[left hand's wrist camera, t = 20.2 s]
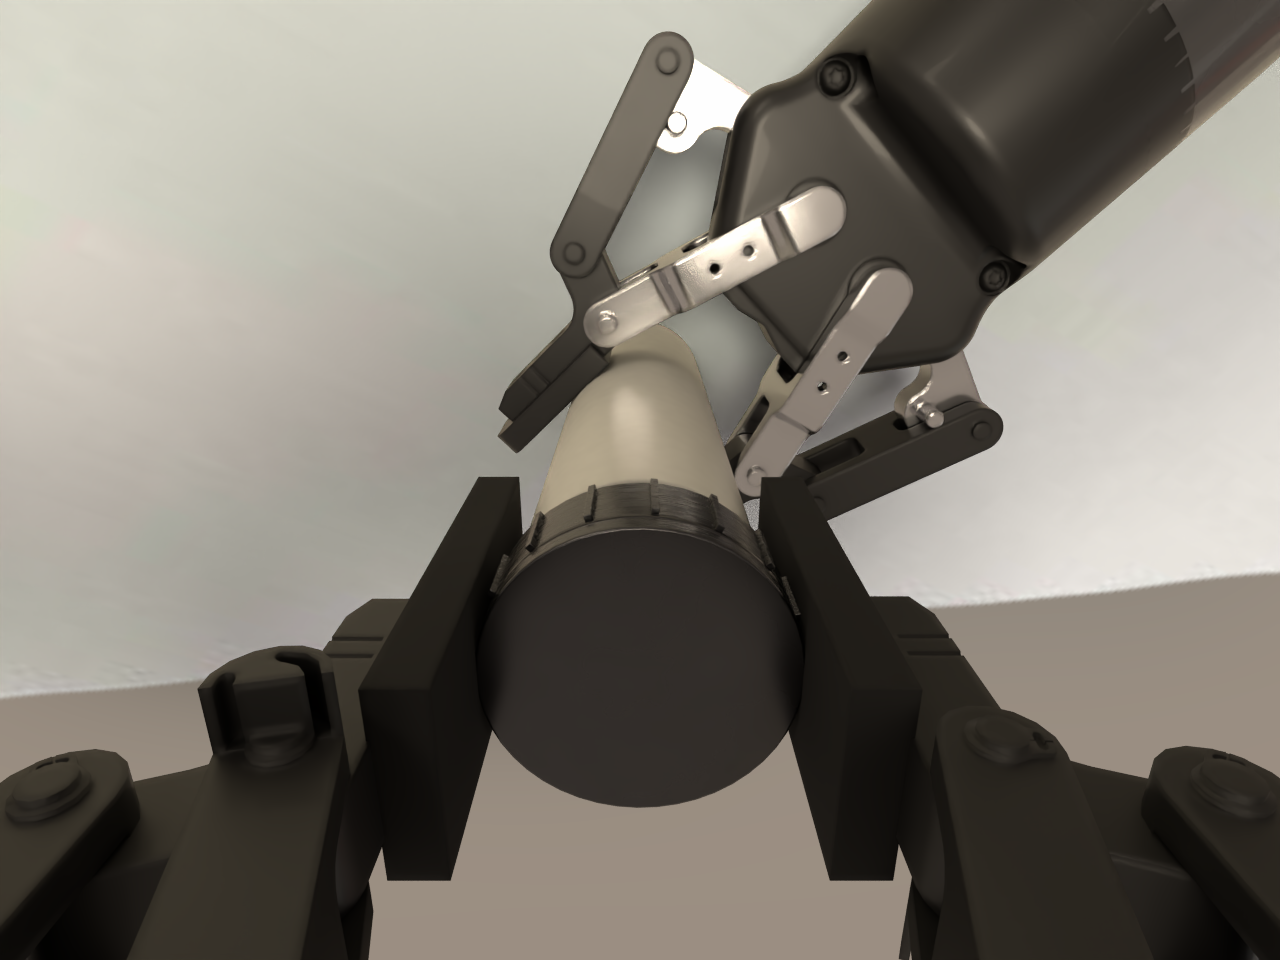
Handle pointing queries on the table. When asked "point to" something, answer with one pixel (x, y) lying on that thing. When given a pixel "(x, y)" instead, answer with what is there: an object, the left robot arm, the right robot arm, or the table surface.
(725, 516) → the lid
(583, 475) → the cream bottle
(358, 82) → the table surface
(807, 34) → the table surface
